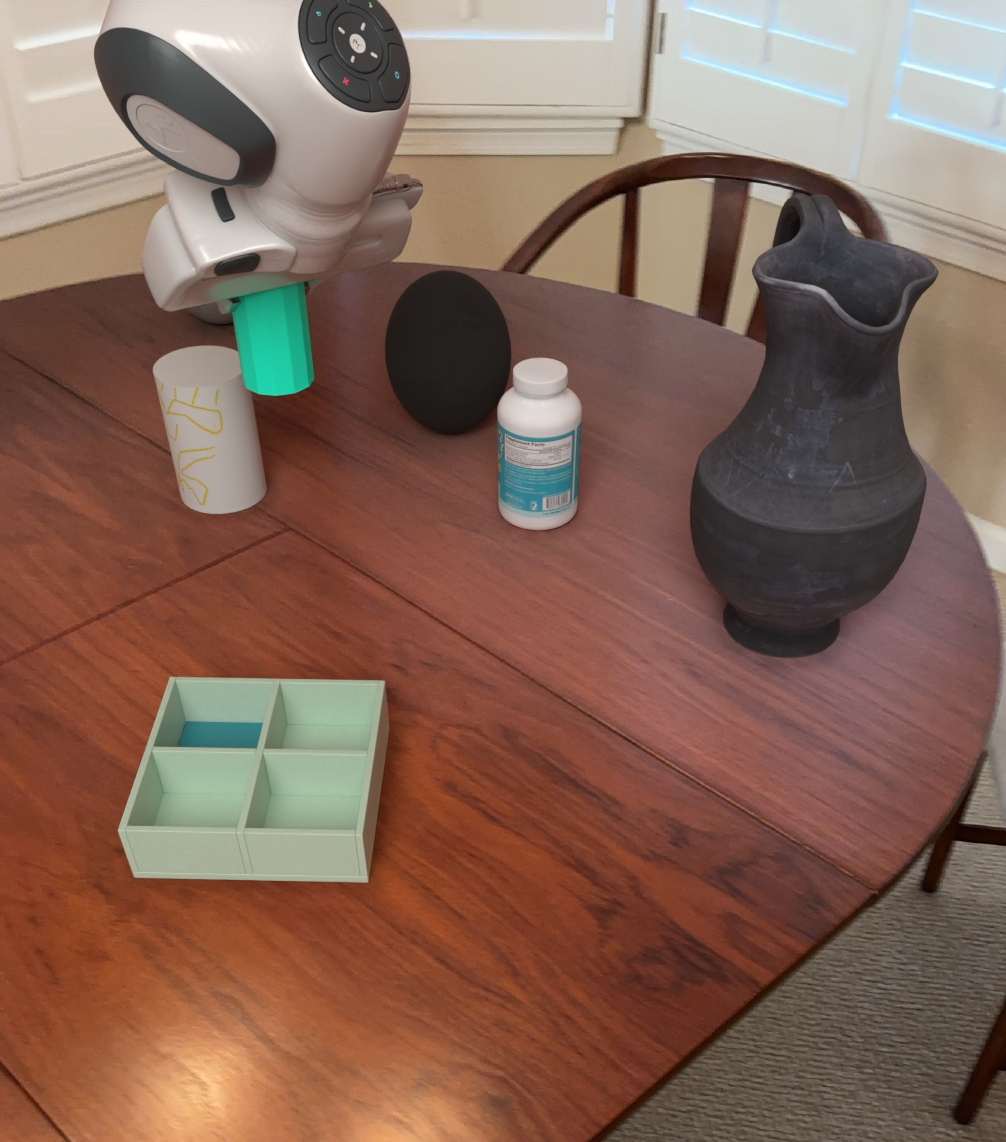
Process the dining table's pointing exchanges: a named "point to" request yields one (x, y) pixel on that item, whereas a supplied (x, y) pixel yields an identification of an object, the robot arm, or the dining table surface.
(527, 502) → the pill bottle
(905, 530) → the pitcher
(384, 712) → the compartment tray
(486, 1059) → the dining table surface
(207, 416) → the cup
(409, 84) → the robot arm
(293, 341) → the candle
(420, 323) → the decorative egg
